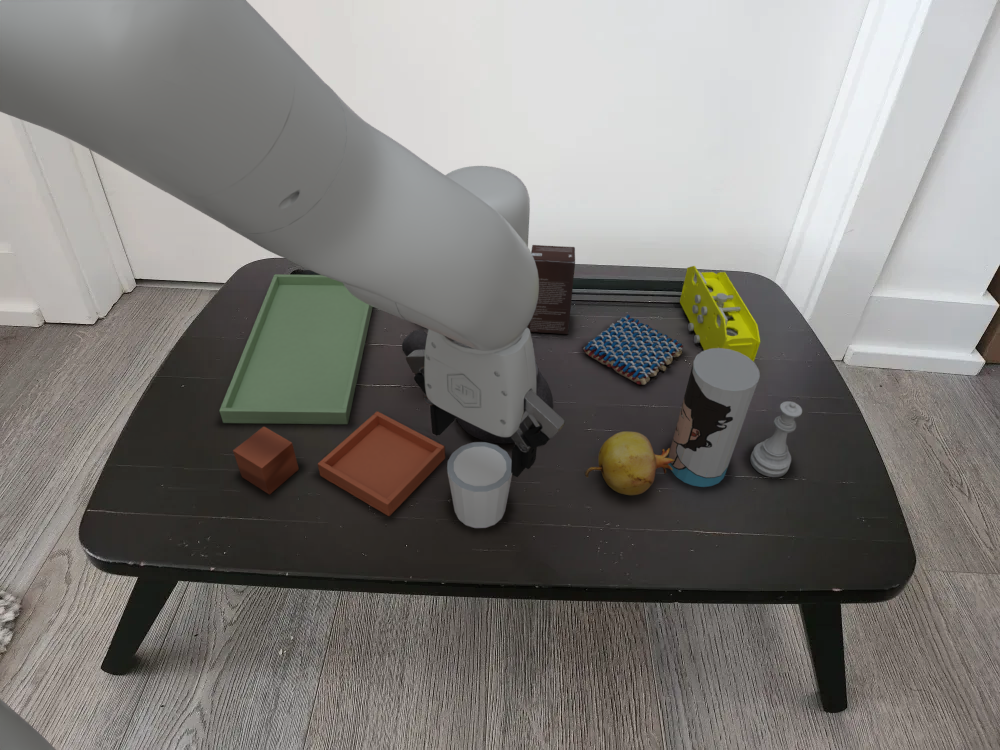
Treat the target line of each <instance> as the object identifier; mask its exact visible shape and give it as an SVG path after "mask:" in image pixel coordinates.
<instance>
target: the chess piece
mask: <svg viewBox="0 0 1000 750" xmlns="http://www.w3.org/2000/svg"><path fill="white" fill-rule="evenodd" d="M779 411H780V413H781V415H779V416H776V417H775V418H774V420H773V426H774V427H775V431H774V432H773V434H772V435H771V437H769V438H766V439H765V440H764V441H761V442H760V443H759V442H758V443H757V444H756V445H755V446H754V448H753V450H752V451H751V454H750V457H749V460H750V464H751V466H752V467H753V469H754V470H755V471H757V472H758V473H759V474H761V475H762V476H766V477H770V478H780V477H782V476H784V475H786V474H787V472H788V471H789V469H790V466H791V463H792V455H791V453H790V451H789V447H788V445H787V439H788V438H787V437H788V434H791V433H793V432H795V430H796V428H797V422H796V421H795V419H797V418H799V417H801V415H803V414H802V413H803V408H802V407H801V406H800V405H799V404H798V403H796V402H795V401H790V400H789V401H783V402H782V403H780V405H779Z"/></svg>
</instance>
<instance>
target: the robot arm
mask: <svg viewBox="0 0 1000 750" xmlns="http://www.w3.org/2000/svg"><path fill="white" fill-rule="evenodd" d="M0 113H3V114H5V115H8V116H10V117H14V118H16V119H19V120H21V121H24V122H27V123H30V124H33V125H35V126H38V127H41V128H44V129H46V130H48V131H51V132H52V133H55V134H58V135H60V136H62V137H64V138H66V139H68V140H71V141H72V142H74V143H76V144H78V145H80V146H82V147H84V148H86V149H88V150H90V151H92V152H94V153H96V155H97V154H98V155H99V156H101V157H102V158H105V159H106V160H108V161H110V162H112V163H113V164H115V165H116V166H118V167H120V168H122V169H124V170H125V171H128V172H129V173H131V174H133V175H135V176H136V177H138V178H140V179H142V180H144V181H145V182H147V183H148V184H150V185H152V186H154V187H155V188H157V189H159V190H161V191H163V192H165V193H167V194H169V195H170V196H172V197H174V198H176V199H178V200H179V201H181V202H183V203H184V204H186V205H188V206H190V207H192V208H193V209H195V210H197V211H198V212H201V213H202V214H204V215H206V216H208V218H211V219H212V220H215V222H218V223H219V224H221V225H223V226H224V227H226V228H228V229H230V230H231V231H233V232H234V233H237V234H238V235H240V236H242V237H244V238H245V239H247V240H249V241H250V242H252V243H254V244H256V245H257V246H259V247H260V248H262V249H264V250H266V251H268V252H270V253H273V254H275V255H277V256H279V257H281V258H283V259H286V260H287V261H290V262H292V263H294V264H296V265H298V266H300V267H302V268H304V269H307V270H309V271H311V272H314V273H315V274H317V275H323V276H325V277H328V278H331V279H333V280H336V281H339V282H342V283H343V284H344V286H345V287H346V289H347V290H348V291H349V292H350V293H351V294H352V295H353V296H355V297H356V298H357V299H359V300H361V301H362V302H364V303H366V304H368V305H370V306H372V307H373V308H375V309H377V310H380V311H382V312H385V313H387V314H390V315H392V316H394V317H397V318H399V319H402V320H404V321H406V322H410V323H412V324H415V325H418V326H420V327H422V328H424V329H427V340H426V347H425V350H414V351H413V352H412V353H411V354H409V355H408V356H406V357H405V360H406V363H407V365H408V366H409V368H410V371H411V373H412V374H414V376H413V381H414V382H415V383H416V384H417V386H418V387H419V389H420V390H421V391H422V392H423V394H424V395H423V401H424V403H426V405H428V406H429V411H430V412H429V413H430V423H431V424H430V425H431V434H432V435H435V436H440V435H441V434H443V432H445V430H446V429H447V428H448V427H449V426H451V424H452V423H453V422H454V421H455V419H456V417H455V416H457V417H459V418H461V419H463V420H465V421H467V422H469V423H471V424H473V425H475V426H477V427H479V428H481V429H483V430H485V431H487V432H489V433H492V434H494V435H497V436H500V437H511V438H512V439H513V441H514V446H512V449H511V460H512V463H511V473H512V476H513V477H515V478H519V477H520V475H522V473H523V472H524V470H529V469H531V467H532V466H533V465H534V463H535V461H536V460H537V450H538V449H537V448H539V447H543V446H545V445H546V444H547V443H548V442H549V441H550V440H552V439H553V438H554V437H555V436H556V435H557V434H558V433H559V432H560V431H561V429H562V428H563V427H564V426H565V424H566V422H565V419H564V418H563V417H561V416H560V415H559V414H558V413H557V412H556V411H555V410H554V408H553V409H551V408H550V407H549V406H548V405H547V404H546V403H545V402H544V401H543V400H542V399H541V398H539V397H538V396H537V395H536V364H535V361H536V356H535V355H536V354H535V349H534V348H535V347H534V344H533V338H532V332H530V330H529V328H528V325H529V323H530V321H531V319H532V317H533V314H534V312H535V309H536V305H537V301H538V294H539V277H538V270H537V267H536V263H535V260H534V258H533V256H532V254H531V251H532V250H531V249H530V248H529V235H530V234H529V233H530V214H531V210H530V209H531V207H530V206H531V203H530V202H531V199H530V194H529V191H528V189H527V186H526V185H525V183H524V182H523V181H522V179H521V178H519V177H518V176H517V175H515V174H514V173H512V172H511V171H509V170H506V169H504V168H500V167H496V166H490V165H471V166H470V165H469V166H464V167H459V168H457V169H455V170H452V171H450V172H448V173H447V174H444V173H443V172H442V171H439V169H436V168H435V167H434V166H432V165H431V164H429V163H428V162H426V161H425V160H423V159H422V158H421V157H420V156H418V155H417V154H415V153H414V152H413V151H411V150H410V149H409V148H407V147H406V146H404V145H402V144H401V143H399V142H398V141H397V140H395V139H393V138H392V137H390V136H389V135H388V134H385V133H384V132H382V131H381V130H379V129H377V128H376V127H374V126H373V125H371V124H370V123H368V122H367V121H365V120H364V119H363V118H362V117H361V116H359V114H357V113H356V112H355V111H354V110H353V109H352V108H351V107H350V106H349V105H348V104H347V103H346V102H345V101H344V100H343V98H341V97H340V96H339V95H338V94H337V93H336V92H335V90H333V88H332V87H330V85H328V84H327V83H326V82H325V81H324V80H323V79H322V78H321V77H320V76H319V74H317V72H316V71H314V69H312V67H310V65H309V64H308V63H307V62H306V61H305V60H304V59H303V58H302V57H301V56H300V55H299V54H298V53H297V52H296V50H295V49H293V47H292V46H291V45H290V44H289V43H288V42H287V41H286V39H284V38H283V36H281V35H280V34H279V33H278V31H276V30H275V29H274V27H273V26H272V25H270V23H269V22H268V21H267V20H266V19H265V18H264V17H263V16H262V15H261V14H260V13H259V12H258V11H257V10H256V9H255V8H254V7H253V6H252V5H251V3H249V2H248V1H247V0H0ZM537 421H538V422H539V423H540V424H541V426H540V425H539V423H538V422H537ZM522 422H523V423H524V424H525V426H526V427H527V429H528V430H526V431H525V433H524V434H523V432H522V431H521V429H520V428H519V425H520V424H521V423H522ZM0 750H57V749H56V748H55V747H54V746H53V744H52V743H50V742H49V741H48V740H47V739H46V738H45V737H44V736H43V735H42V734H41V733H40V732H39V731H38V730H37V729H35V728H34V727H33V726H32V725H31V724H30V723H28V721H26V719H24V718H23V717H22V716H21V715H20V714H18V712H16V711H15V710H14V709H13V708H12V707H11V706H9V704H7V703H6V702H5V701H4V700H3V699H2V698H0Z"/></svg>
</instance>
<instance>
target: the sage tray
mask: <svg viewBox="0 0 1000 750" xmlns="http://www.w3.org/2000/svg"><path fill="white" fill-rule="evenodd" d="M373 308H374V307H372V306H370V305H368V304H366V303H364V302H362V301H361V300H359V299H357V298H356V297H355V296H353V295H352V294H351V293H350V292H349V291H348V290H347V289H346V287H345V286H344V284H343V283H342V282H339V281H336V280H333V279H331V278H328V277H325V276H323V275H320V274H283V273H282V274H281V273H280V274H278V273H277V274H273V277H272V279H271V281H270V284H269V287H268V289H267V292H266V294H265V296H264V299H263V301H262V304H261V306H260V309H259V311H258V314H257V316H256V319H255V321H254V323H253V326H252V328H251V331H250V334H249V336H248V338H247V341H246V344H245V346H244V349H243V351H242V352H241V355H240V358H239V361H238V364H237V366H236V367H235V371H234V372H233V373H234V374H233V376H232V378H231V381H230V383H229V385H228V388H227V391H226V393H225V395H224V398H223V400H222V403H221V405H220V408H219V414H220V417H221V420H222V423H223V424H275V425H276V424H277V425H279V424H281V425H282V424H283V425H285V424H286V425H288V424H289V425H348V424H349V421H350V415H351V411H352V406H353V401H354V398H355V392H356V387H357V382H358V379H359V373H360V368H361V364H362V359H363V355H364V354H363V353H364V348H365V345H366V341H367V335H368V330H369V326H370V322H371V316H372V311H373Z"/></svg>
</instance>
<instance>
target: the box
mask: <svg viewBox="0 0 1000 750" xmlns="http://www.w3.org/2000/svg"><path fill="white" fill-rule="evenodd" d="M531 245H532V246H531V250H530V251H531V254H532V256H533V258H534V260H535V263H536V267H537V270H538V277H539V294H538V301H537V305H536V309H535V312H534V314H533V317H532V319H531V321H530V323H529V325H528V326H527V328H529V330H530V333H544V334H545V333H546V334H561V335H569V328H570V320H571V311H572V310H571V309H572V299H573V290H574V289H573V288H574V278H575V268H576V267H575V266H576V247H575V246H563V245H562V246H559V245H543V244H542V245H541V244H531Z"/></svg>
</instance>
